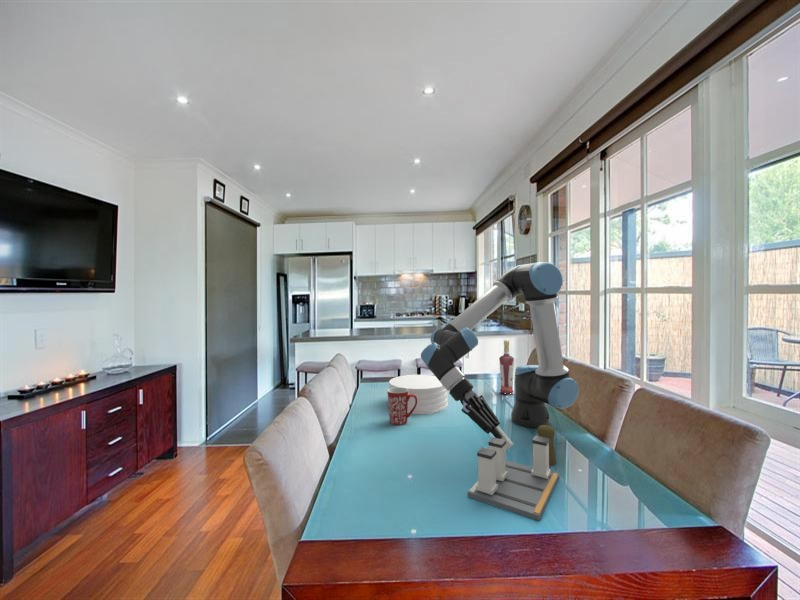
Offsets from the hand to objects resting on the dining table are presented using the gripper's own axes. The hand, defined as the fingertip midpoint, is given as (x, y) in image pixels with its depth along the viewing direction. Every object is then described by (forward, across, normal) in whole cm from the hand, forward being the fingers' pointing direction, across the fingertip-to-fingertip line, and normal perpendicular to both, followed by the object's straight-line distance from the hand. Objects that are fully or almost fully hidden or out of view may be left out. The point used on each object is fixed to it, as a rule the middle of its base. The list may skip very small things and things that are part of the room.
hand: (509, 447), depth 106 cm
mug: (-30, -16, -40) cm, 53 cm away
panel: (+8, +8, -2) cm, 11 cm away
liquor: (-13, -81, -25) cm, 86 cm away
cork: (+11, -12, 0) cm, 16 cm away
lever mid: (+3, +8, -5) cm, 10 cm away
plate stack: (-35, -40, -46) cm, 70 cm away
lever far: (+3, +16, -4) cm, 17 cm away
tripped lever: (+10, 0, +2) cm, 10 cm away
